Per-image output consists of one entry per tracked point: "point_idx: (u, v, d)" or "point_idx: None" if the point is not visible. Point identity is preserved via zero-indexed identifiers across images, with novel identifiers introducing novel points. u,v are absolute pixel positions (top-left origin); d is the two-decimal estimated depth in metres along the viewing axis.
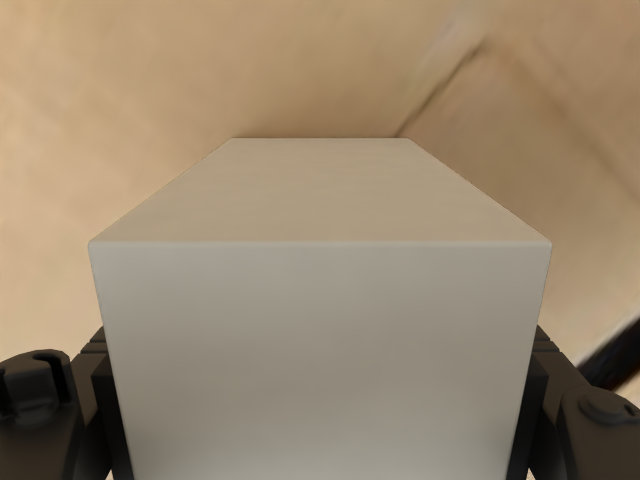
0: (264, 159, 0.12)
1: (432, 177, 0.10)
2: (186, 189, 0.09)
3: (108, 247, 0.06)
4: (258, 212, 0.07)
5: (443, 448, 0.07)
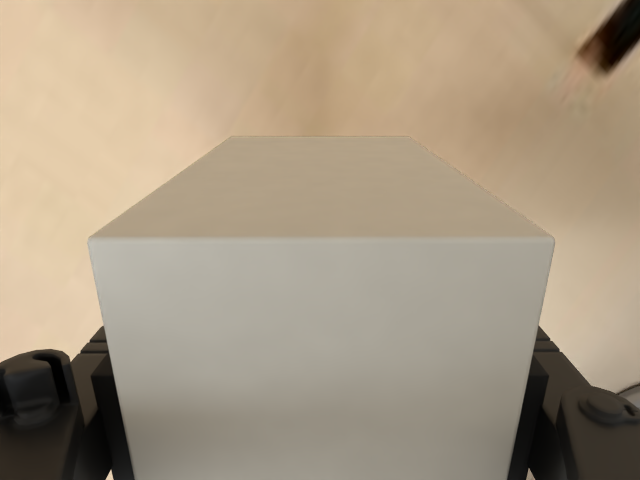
0: (264, 157, 0.12)
1: (433, 174, 0.10)
2: (186, 186, 0.09)
3: (108, 243, 0.06)
4: (258, 209, 0.07)
5: (444, 446, 0.07)
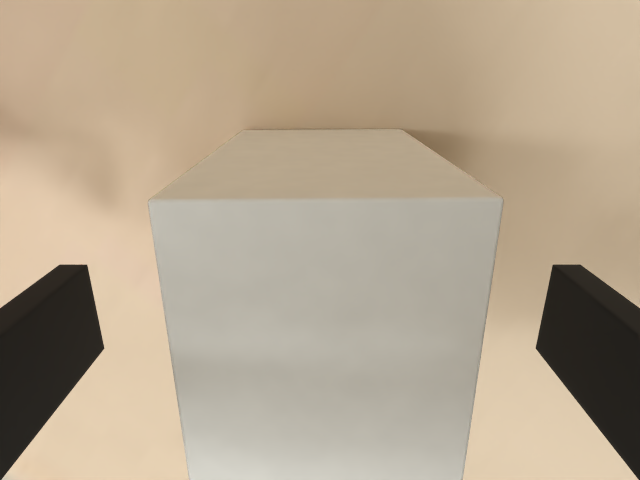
0: (275, 145, 0.14)
1: (418, 157, 0.12)
2: (214, 167, 0.11)
3: (163, 204, 0.08)
4: (275, 181, 0.09)
5: (423, 369, 0.09)
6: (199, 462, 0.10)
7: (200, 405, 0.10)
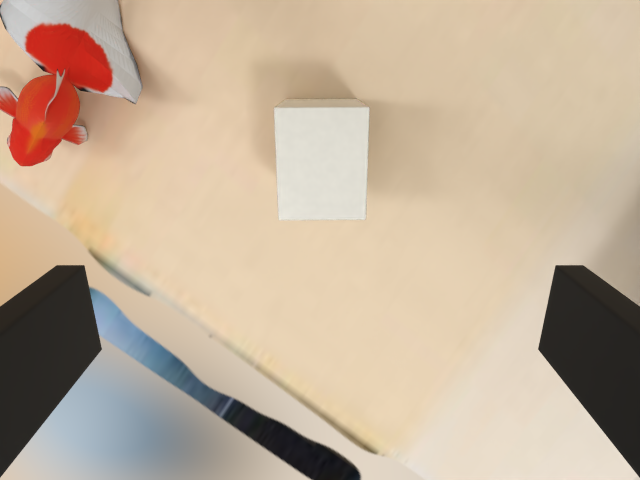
0: (302, 101, 0.35)
1: (354, 103, 0.33)
2: (285, 104, 0.32)
3: (278, 108, 0.30)
4: (307, 105, 0.31)
5: (351, 161, 0.31)
6: (281, 197, 0.32)
7: (283, 174, 0.31)
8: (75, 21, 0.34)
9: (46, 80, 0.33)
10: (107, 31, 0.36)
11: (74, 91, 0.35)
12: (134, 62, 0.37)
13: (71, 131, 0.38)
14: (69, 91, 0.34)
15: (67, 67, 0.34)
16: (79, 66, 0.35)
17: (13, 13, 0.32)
